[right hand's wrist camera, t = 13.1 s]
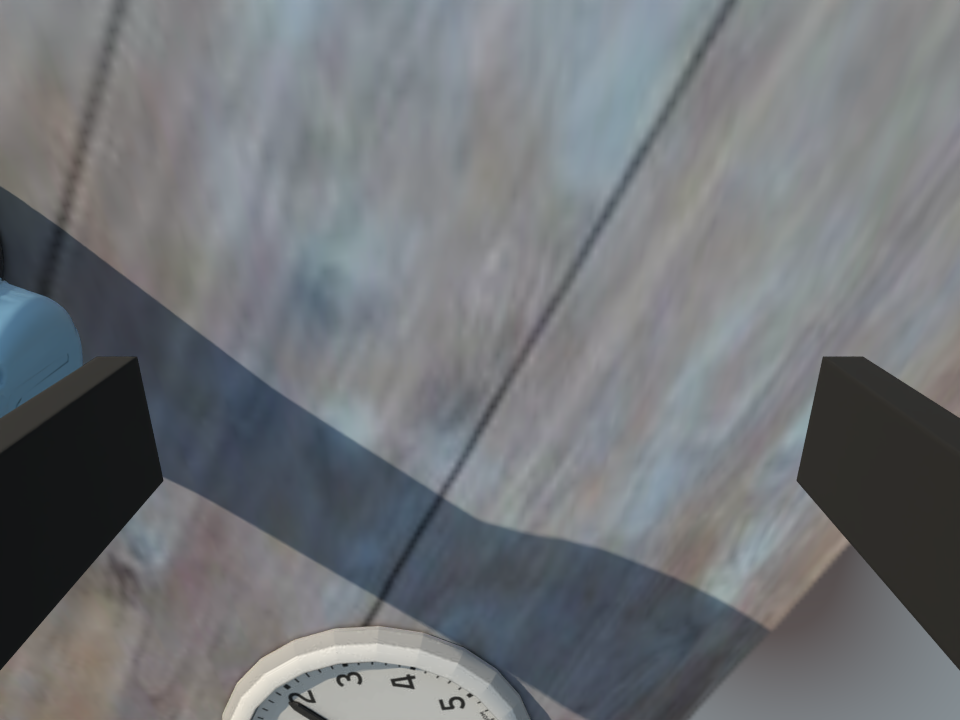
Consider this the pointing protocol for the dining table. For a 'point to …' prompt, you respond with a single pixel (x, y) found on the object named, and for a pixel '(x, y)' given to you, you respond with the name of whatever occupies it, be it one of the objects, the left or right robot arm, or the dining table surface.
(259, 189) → the dining table surface
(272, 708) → the wall clock
